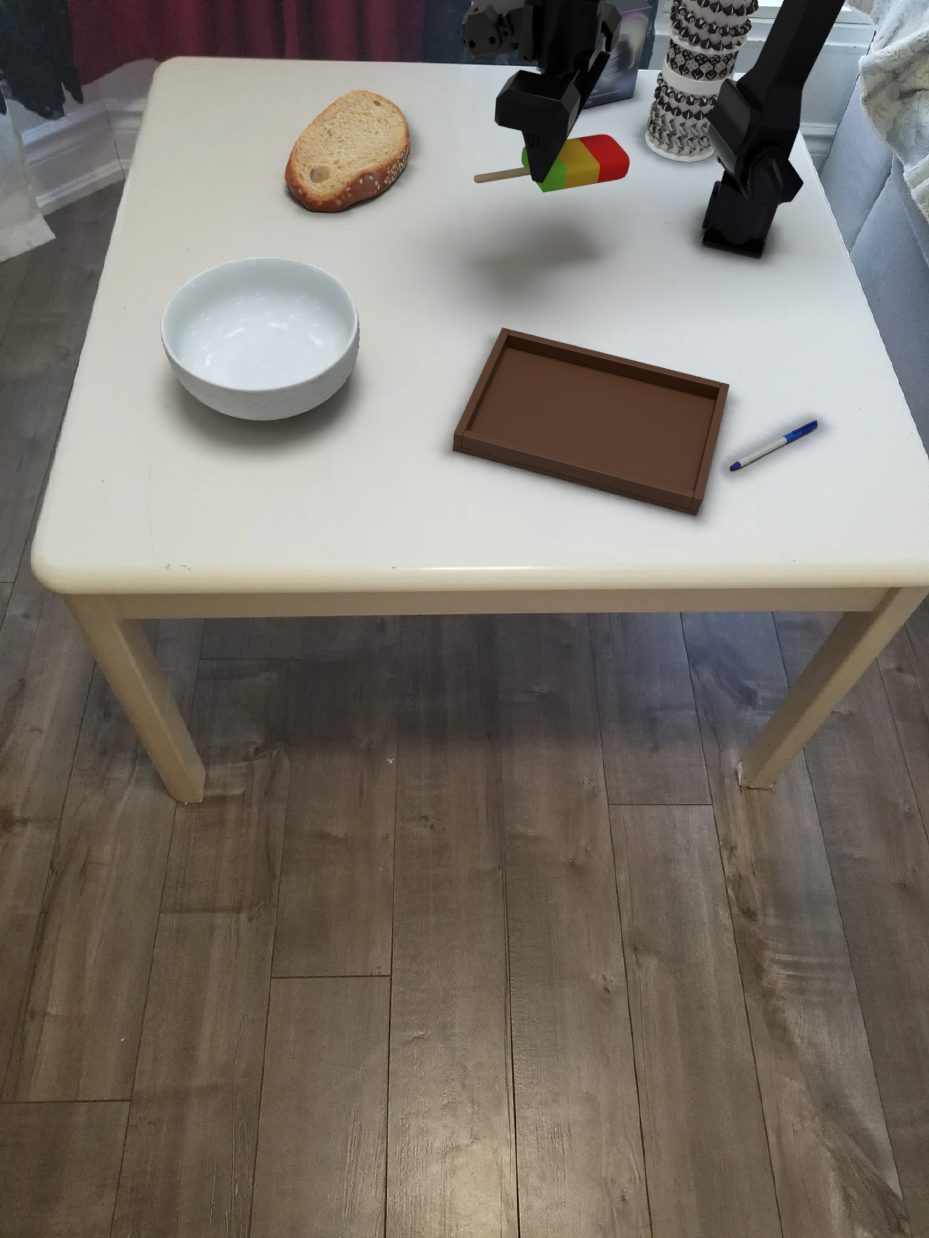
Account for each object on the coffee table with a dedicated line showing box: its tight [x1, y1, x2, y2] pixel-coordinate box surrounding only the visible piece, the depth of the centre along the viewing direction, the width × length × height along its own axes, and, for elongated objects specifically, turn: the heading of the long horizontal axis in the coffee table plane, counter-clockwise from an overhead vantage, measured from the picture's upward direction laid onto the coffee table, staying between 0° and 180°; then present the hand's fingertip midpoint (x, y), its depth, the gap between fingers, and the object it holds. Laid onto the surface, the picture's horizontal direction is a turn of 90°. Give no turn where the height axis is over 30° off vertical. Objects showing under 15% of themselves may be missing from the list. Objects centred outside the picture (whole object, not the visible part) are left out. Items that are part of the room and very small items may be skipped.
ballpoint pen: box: [729, 419, 819, 471], centre depth 81 cm, size 10×1×1 cm, turn 125°
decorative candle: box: [644, 0, 760, 163], centre depth 98 cm, size 9×9×25 cm
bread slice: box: [284, 89, 411, 212], centre depth 102 cm, size 18×18×4 cm
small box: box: [540, 0, 653, 109], centre depth 109 cm, size 11×6×10 cm, turn 118°
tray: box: [452, 327, 730, 516], centre depth 81 cm, size 22×15×2 cm
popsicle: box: [473, 133, 631, 194], centre depth 85 cm, size 6×15×2 cm, turn 111°
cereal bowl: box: [160, 256, 361, 422], centre depth 80 cm, size 17×17×7 cm
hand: (549, 160), depth 85 cm, fingers closed on popsicle, 7 cm apart
